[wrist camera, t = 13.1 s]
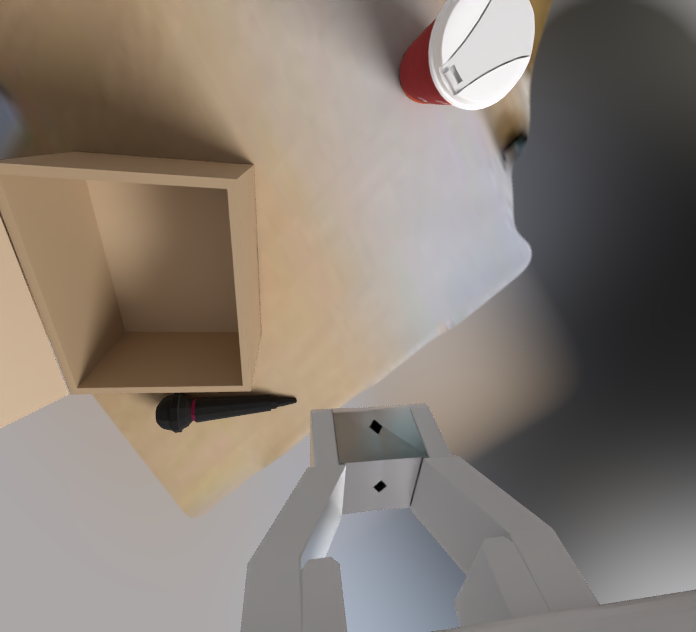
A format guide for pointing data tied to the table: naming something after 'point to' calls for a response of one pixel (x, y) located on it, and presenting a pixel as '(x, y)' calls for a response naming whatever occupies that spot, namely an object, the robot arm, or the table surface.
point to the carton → (139, 268)
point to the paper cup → (470, 53)
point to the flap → (22, 346)
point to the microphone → (211, 409)
